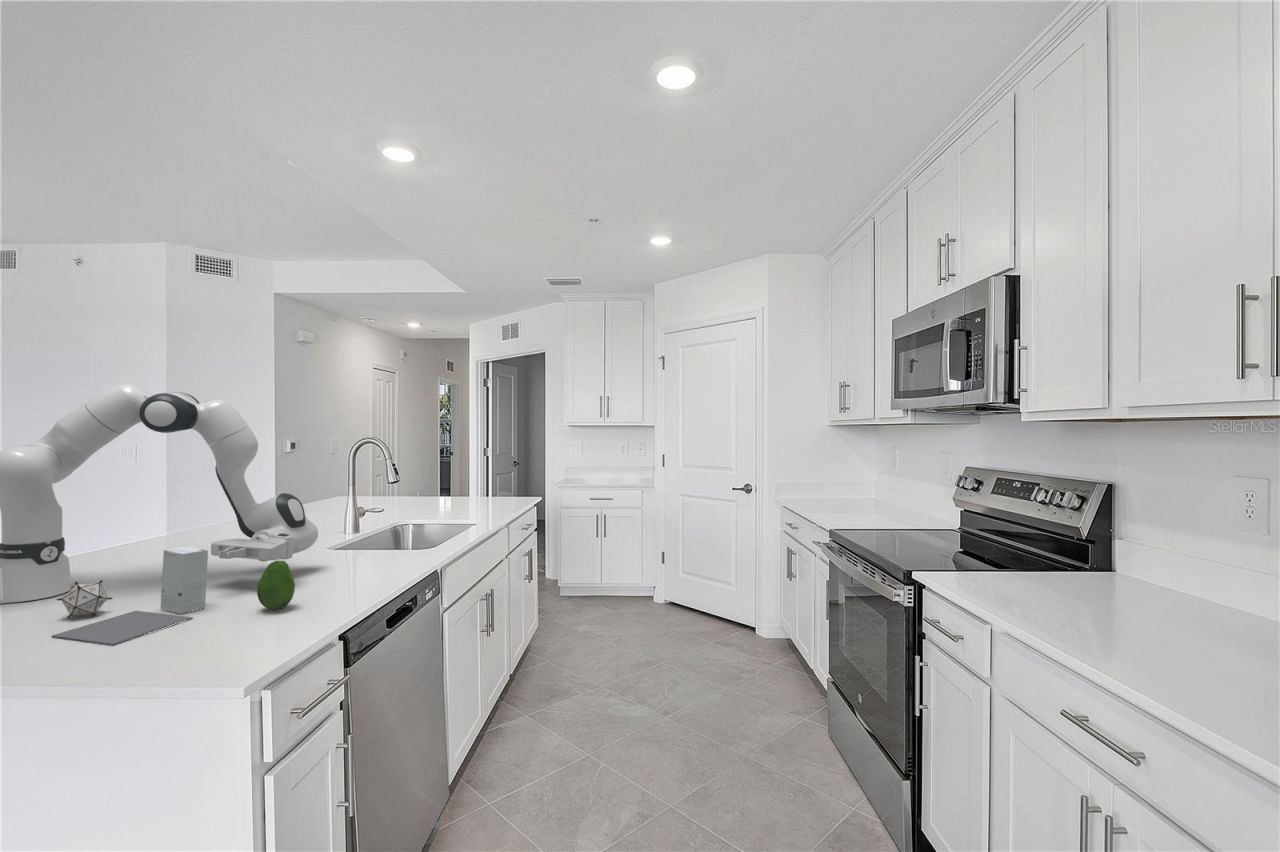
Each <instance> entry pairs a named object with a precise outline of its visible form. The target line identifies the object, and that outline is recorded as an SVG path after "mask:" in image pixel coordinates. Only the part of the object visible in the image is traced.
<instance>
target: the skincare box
mask: <svg viewBox="0 0 1280 852" xmlns="http://www.w3.org/2000/svg"><path fill="white" fill-rule="evenodd" d="M162 557H163V559H162V572H161V573H162V574H161V575H162V577H161V589H160V590H161V591H160V593H161V594H160V605H159V606H160V610H161V611H165V610H166V612H169V611H171V612H170V613H174V612H175V614H178V613H180V614H179V615H182V614H181V613H184V614H186V613H185V612H188V613H190V612H189V611H192V610H196V609H200V608H204V609H206V595H207V579H208V577H207V576H208V561H209V560H208V559H209V550H208V549H204V548H200V547H199V546H198V547H197V546H189V545H184V546H177V547H172V548H165V549H163V555H162ZM200 610H201V609H200ZM196 611H197V610H196ZM192 612H193V611H192Z"/></svg>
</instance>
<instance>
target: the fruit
mask: <svg viewBox="0 0 1280 852" xmlns="http://www.w3.org/2000/svg"><path fill="white" fill-rule="evenodd" d="M295 587H296V584H295V580H294V577H293V575H292V571H291V569H290V566H289V564H288V563H287V562H286V561H285V560H273V562H272V561H271V563H269V564H268V565H267V567H266V568H265V570H264V572H263V574H262V575H261V577H260V579H259V582H258V585H257V590H256V592H257V593H256V596H257V599H258V601H259V603H260V604H261V605H262V606H263V607H264V608H265V609H267V610H270V611H279V610H282V609H283V608H285V607H287V606H288V605H289V603H290V602H291V601H292V600H293V597H294V594H295V591H296V590H295V589H296V588H295Z"/></svg>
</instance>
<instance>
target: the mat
mask: <svg viewBox="0 0 1280 852" xmlns="http://www.w3.org/2000/svg"><path fill="white" fill-rule="evenodd" d="M190 618H192V619H193V617H192V616H185V615H177V614H168V613H158V612H150V611H141V610H133V611H130V612H127V613H123V614H119V615H117V616H116V615H115V616H113V617H110V618H107V619H103V620H99V621H95V622H93V623H90V624H86V625H83V626H80V627H76V628H71V629H69V630H66V631H63V632H59V633H56V634H53V635H52V634H51V638H52V639H53V638H54V639H60V640H68V641H75V642H81V643H89V644H96V643H97V644H96V645H103V644H105V645H104V646H110V645H112V646H111V647H114V646H116V644H117V645H120V644H123V643H126V642H129V641H131V640H130V639H132V640H134V639H133V638H135V639H137V638H136V637H138V638H140V637H139V636H141V637H143V636H142V635H144V634H147V633H149V632H153V631H155V630H158V629H161V628H164V627H167V626H169V625H172V624H175V623H178V622H181V621H184V620H187V619H190ZM167 628H168V627H167ZM164 629H165V628H164ZM161 630H162V629H161ZM158 631H159V630H158ZM155 632H156V631H155ZM153 633H154V632H153ZM147 635H148V634H147ZM144 636H145V635H144ZM128 640H129V641H128ZM125 641H126V642H125ZM122 642H123V643H122ZM119 643H120V644H119ZM113 645H114V646H113Z"/></svg>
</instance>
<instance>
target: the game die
mask: <svg viewBox="0 0 1280 852" xmlns="http://www.w3.org/2000/svg"><path fill="white" fill-rule="evenodd" d="M74 581H75V580H74ZM102 583H103V579H100V580H99V582H91V583H90V582H89V583H88V582H87V583H79V582H78V581H75V584H76V585H75V586H73V587H71V590H69V591H68V592H66V594H65V595H64V596H63V597H61V598H60V597H59V598H56V600H57V601H61V602H62V603H63V605H64V607H65V609H66V611H67V612H68V614H69V615H68V616H67V619H71V617H72V616H84V615H85V616H86V615H92V617H95V616H97V614H96V612H97V611H98V610H99V609H100V608H101V607H102V606H103V605H104V604H105V603H106V601H109V600H113V599H114V598H113V597H109V596H108V595H107V593H106V591H105V590H104V587H103V586H102Z"/></svg>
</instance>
